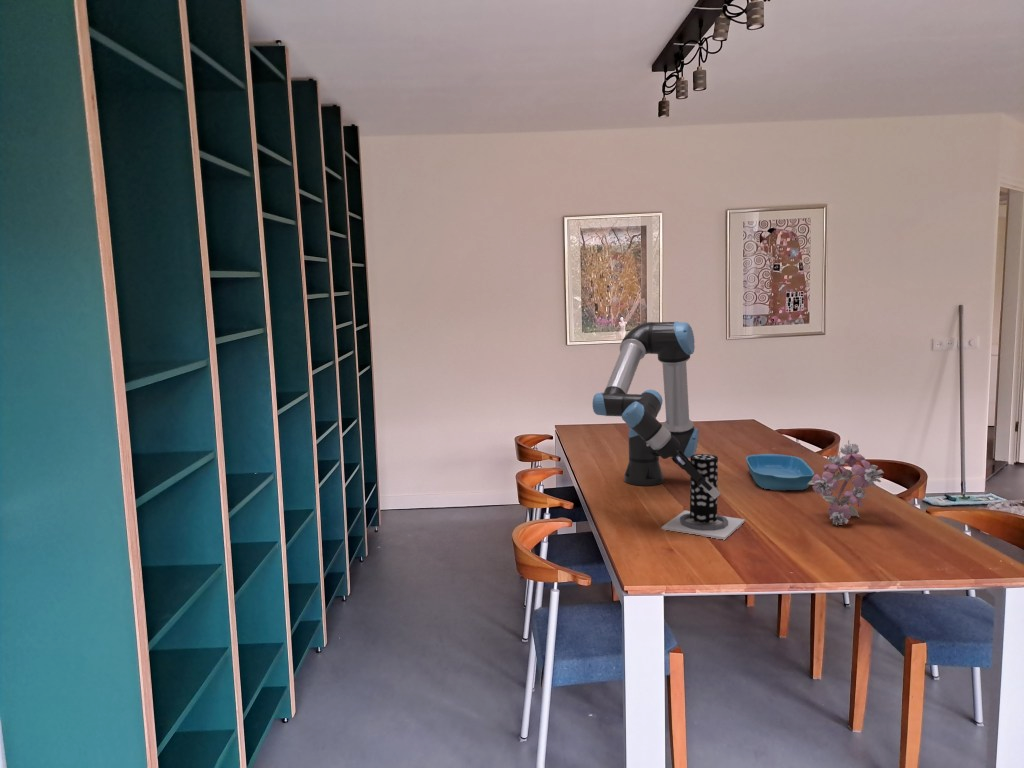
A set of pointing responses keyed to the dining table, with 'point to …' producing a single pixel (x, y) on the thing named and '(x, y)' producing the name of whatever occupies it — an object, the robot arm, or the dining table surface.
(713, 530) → the ring dock
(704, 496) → the spotted tube
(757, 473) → the casserole dish
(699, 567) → the dining table surface
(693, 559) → the dining table surface
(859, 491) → the flower
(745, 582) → the dining table surface
